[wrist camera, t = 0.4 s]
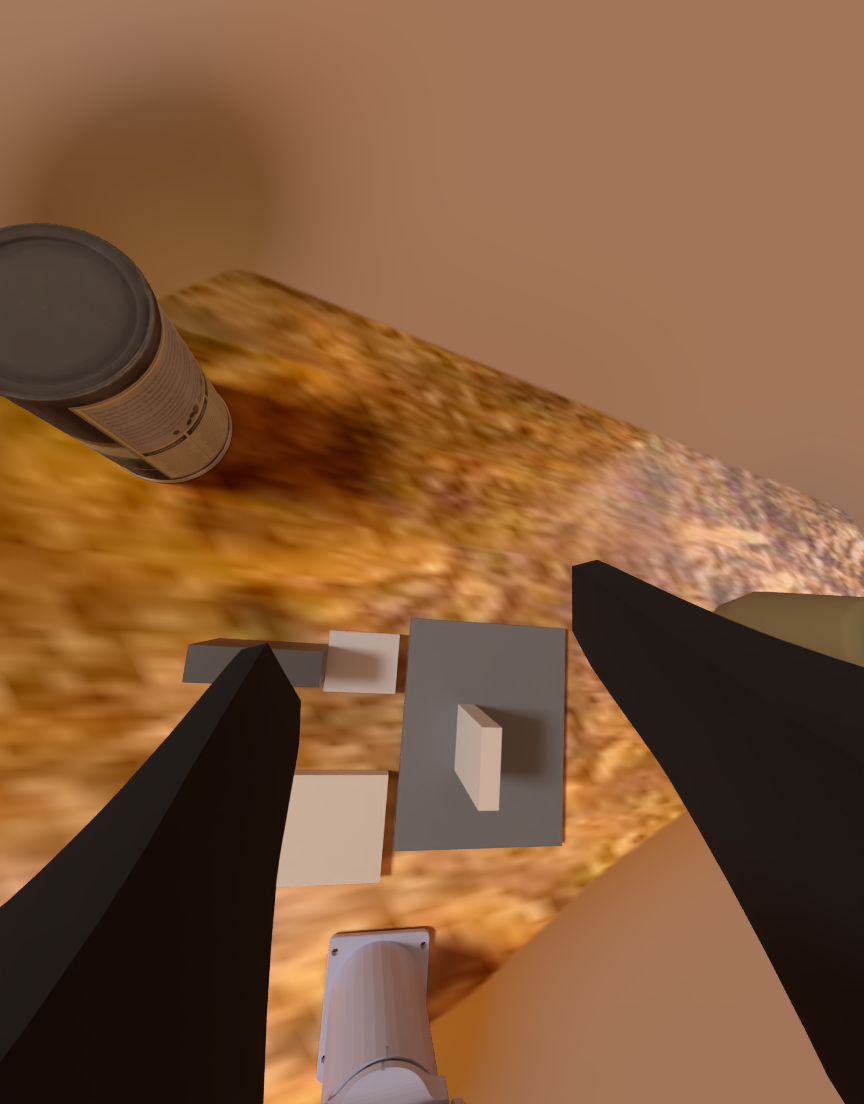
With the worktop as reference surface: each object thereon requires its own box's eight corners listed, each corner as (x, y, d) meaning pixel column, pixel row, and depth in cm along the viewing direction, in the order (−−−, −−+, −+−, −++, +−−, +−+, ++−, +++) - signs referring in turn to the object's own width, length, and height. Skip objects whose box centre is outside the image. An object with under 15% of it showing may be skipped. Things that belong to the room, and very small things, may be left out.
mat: (558, 841, 35) (562, 845, 34) (393, 847, 33) (393, 851, 32) (562, 628, 38) (565, 628, 37) (411, 617, 36) (411, 618, 35)
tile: (472, 770, 34) (500, 810, 27) (454, 770, 34) (478, 810, 27) (475, 704, 35) (504, 727, 28) (458, 703, 35) (482, 727, 28)
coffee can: (109, 491, 33) (-73, 405, 19) (100, 377, 34) (-78, 218, 20) (240, 478, 35) (162, 392, 21) (227, 371, 36) (145, 223, 22)
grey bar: (394, 691, 34) (400, 708, 29) (212, 684, 32) (178, 701, 26) (398, 633, 35) (406, 638, 29) (221, 623, 33) (191, 626, 27)
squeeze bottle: (727, 685, 40) (1008, 743, 23) (684, 620, 41) (929, 629, 23) (775, 640, 42) (1068, 662, 25) (733, 578, 43) (995, 556, 25)
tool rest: (379, 874, 32) (379, 882, 31) (152, 883, 29) (145, 893, 28) (387, 770, 33) (388, 775, 32) (171, 769, 30) (165, 775, 30)
